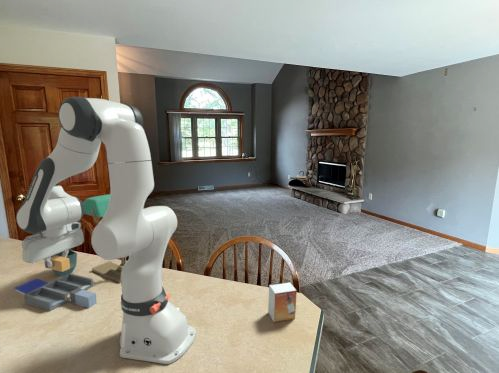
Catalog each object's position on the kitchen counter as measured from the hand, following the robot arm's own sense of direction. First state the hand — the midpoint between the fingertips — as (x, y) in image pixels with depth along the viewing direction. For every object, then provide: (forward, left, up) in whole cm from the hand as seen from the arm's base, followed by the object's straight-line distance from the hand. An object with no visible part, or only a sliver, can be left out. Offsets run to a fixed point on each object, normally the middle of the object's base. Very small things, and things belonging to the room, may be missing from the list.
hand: (57, 264), depth 101 cm
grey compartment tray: (0, 0, -12) cm, 12 cm away
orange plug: (0, 0, -2) cm, 2 cm away
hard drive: (+13, +1, -13) cm, 19 cm away
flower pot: (+15, -12, -13) cm, 23 cm away
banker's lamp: (-5, -20, -13) cm, 24 cm away
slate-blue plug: (-13, +1, -12) cm, 18 cm away
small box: (-82, -18, -13) cm, 85 cm away
